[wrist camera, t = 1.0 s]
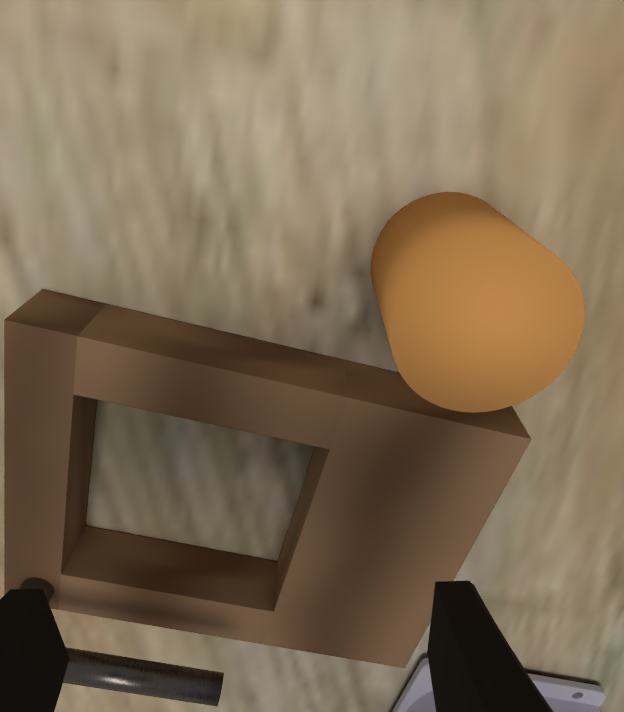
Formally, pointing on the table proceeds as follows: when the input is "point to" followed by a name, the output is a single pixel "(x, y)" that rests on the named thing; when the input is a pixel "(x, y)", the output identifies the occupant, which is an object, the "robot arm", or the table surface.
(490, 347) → the orange rounded capsule
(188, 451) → the table surface
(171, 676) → the hook
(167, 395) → the brown square frame
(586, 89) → the table surface
